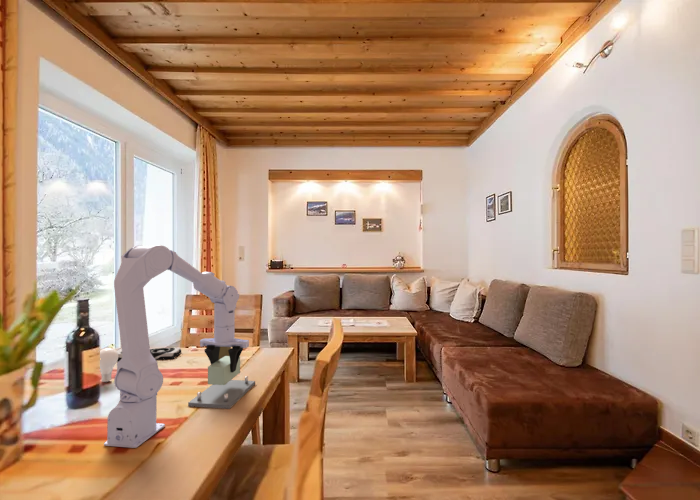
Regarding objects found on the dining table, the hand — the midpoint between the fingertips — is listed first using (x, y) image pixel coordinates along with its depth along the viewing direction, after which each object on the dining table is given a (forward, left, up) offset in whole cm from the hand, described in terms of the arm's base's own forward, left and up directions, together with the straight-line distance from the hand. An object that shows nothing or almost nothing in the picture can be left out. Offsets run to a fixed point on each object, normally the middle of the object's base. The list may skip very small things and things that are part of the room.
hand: (224, 370), depth 99 cm
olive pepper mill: (+32, +17, -7) cm, 37 cm away
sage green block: (0, 0, -2) cm, 2 cm away
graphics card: (+29, +49, -8) cm, 58 cm away
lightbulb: (+4, +43, -7) cm, 44 cm away
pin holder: (0, 0, -7) cm, 7 cm away
